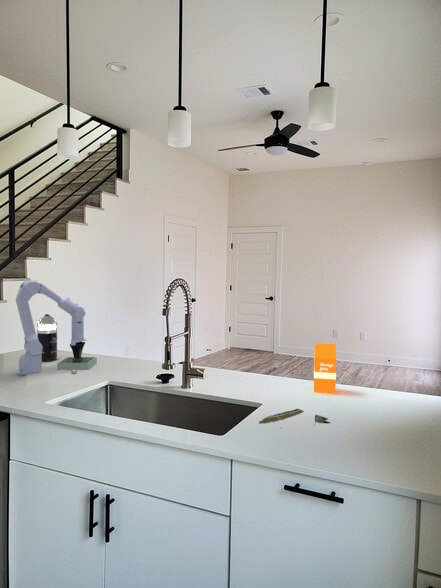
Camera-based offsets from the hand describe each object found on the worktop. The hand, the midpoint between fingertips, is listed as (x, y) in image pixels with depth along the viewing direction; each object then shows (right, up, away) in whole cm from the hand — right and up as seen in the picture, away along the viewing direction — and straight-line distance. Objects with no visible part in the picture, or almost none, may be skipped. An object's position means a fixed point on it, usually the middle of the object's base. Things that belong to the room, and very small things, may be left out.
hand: (77, 357), depth 213 cm
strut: (0, -2, 0) cm, 2 cm away
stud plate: (+3, -6, -15) cm, 16 cm away
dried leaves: (+97, -12, -72) cm, 121 cm away
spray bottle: (-22, -4, +18) cm, 29 cm away
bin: (0, -5, 0) cm, 5 cm away
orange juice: (+116, -9, -33) cm, 121 cm away
